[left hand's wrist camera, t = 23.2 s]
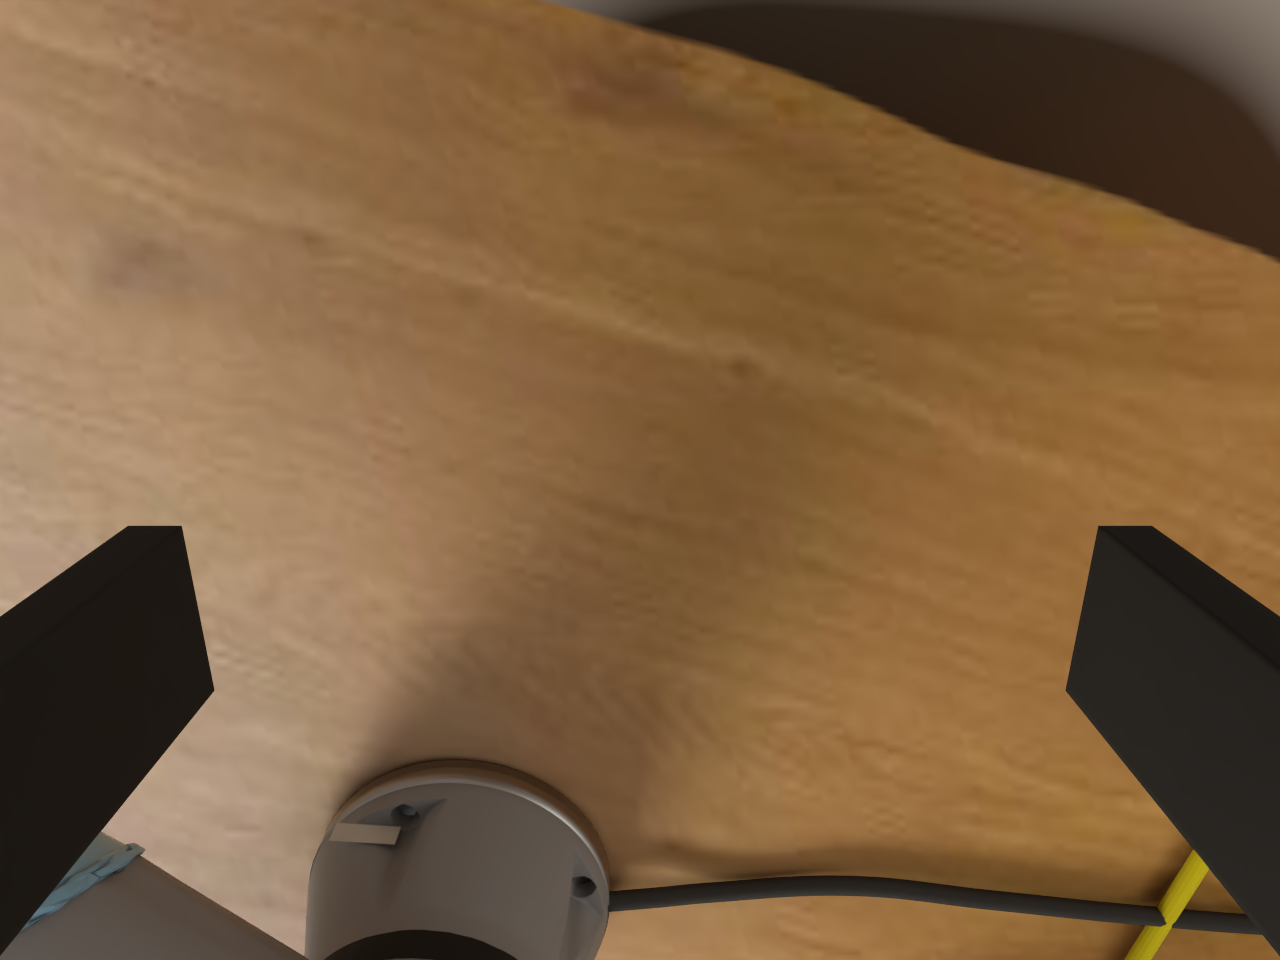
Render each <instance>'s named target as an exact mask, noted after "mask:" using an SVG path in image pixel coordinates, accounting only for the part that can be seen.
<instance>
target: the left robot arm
mask: <svg viewBox="0 0 1280 960" xmlns="http://www.w3.org/2000/svg"><path fill="white" fill-rule="evenodd" d="M213 692H214V686H213V681H212V676H211V671H210V666H209V661H208V656H207V651H206V646H205V641H204V636H203V631H202V626H201V621H200V616H199V611H198V606H197V601H196V596H195V591H194V586H193V581H192V576H191V571H190V566H189V561H188V556H187V551H186V546H185V541H184V536H183V531H182V526H127V527H126V528H124V529H123V530H122V531H120V532H119V533H117V534H116V535H115V536H113V537H112V538H110V539H109V540H108V541H106V542H105V543H103V544H102V545H101V546H99V547H98V548H96V549H95V550H93V551H92V552H91V553H89V554H88V555H86V556H85V557H84V558H82V559H81V560H79V561H78V562H77V563H75V564H74V565H72V566H71V567H70V568H68V569H67V570H65V571H64V572H62V573H61V574H60V575H58V576H57V577H55V578H54V579H53V580H51V581H50V582H48V583H47V584H46V585H44V586H43V587H41V588H40V589H39V590H37V591H36V592H34V593H33V594H31V595H30V596H29V597H27V598H26V599H24V600H23V601H22V602H20V603H19V604H17V605H16V606H15V607H13V608H12V609H10V610H9V611H8V612H6V613H5V614H3V615H2V616H0V960H594V959H595V957H596V955H597V952H598V950H599V948H600V945H601V943H602V939H603V937H604V934H605V931H606V927H607V923H608V917H609V912H612V911H624V910H636V909H648V908H659V907H669V906H679V905H689V904H699V903H712V902H725V901H738V900H750V899H763V898H777V897H794V896H869V897H884V898H896V899H906V900H915V901H923V902H931V903H939V904H946V905H954V906H962V907H970V908H978V909H988V910H997V911H1007V912H1017V913H1026V914H1036V915H1045V916H1054V917H1064V918H1073V919H1083V920H1093V921H1103V922H1114V923H1124V924H1135V925H1146V926H1157V927H1161V926H1164V925H1166V924H1167V923H1166V922H1165V918H1164V917H1163V916H1162V914H1161V912H1160V911H1159V909H1158V907H1150V906H1139V905H1129V904H1118V903H1107V902H1097V901H1087V900H1077V899H1068V898H1058V897H1049V896H1040V895H1030V894H1021V893H1012V892H1002V891H992V890H983V889H974V888H965V887H957V886H950V885H942V884H935V883H927V882H919V881H911V880H902V879H892V878H880V877H864V876H795V877H777V878H763V879H750V880H738V881H726V882H713V883H699V884H688V885H677V886H667V887H657V888H645V889H633V890H620V891H610V869H609V863H608V859H607V855H606V852H605V849H604V846H603V844H602V842H601V840H600V838H599V836H598V834H597V832H596V831H595V829H594V827H593V826H592V824H591V823H590V822H589V820H588V819H587V818H586V817H585V815H584V814H583V813H582V812H581V811H580V810H579V809H578V808H577V807H576V806H575V805H574V804H573V803H572V802H571V801H570V800H569V799H567V798H566V797H565V796H564V795H562V794H561V793H560V792H558V791H557V790H555V789H554V788H552V787H551V786H549V785H547V784H546V783H544V782H542V781H540V780H538V779H536V778H534V777H532V776H530V775H528V774H525V773H522V772H520V771H517V770H514V769H511V768H508V767H504V766H500V765H496V764H491V763H486V762H478V761H469V760H442V761H432V762H425V763H420V764H415V765H411V766H407V767H404V768H401V769H398V770H395V771H393V772H390V773H388V774H386V775H383V776H381V777H379V778H378V779H376V780H374V781H372V782H370V783H369V784H367V785H366V786H364V787H363V788H361V789H360V790H359V791H358V792H357V793H355V794H354V795H353V796H352V797H351V798H350V799H349V800H348V801H347V802H346V803H345V804H344V805H343V806H342V807H341V809H340V810H339V811H338V813H337V814H336V815H335V817H334V818H333V820H332V822H331V824H330V825H329V827H328V829H327V832H326V834H325V836H324V838H323V840H322V842H321V844H320V847H319V849H318V851H317V853H316V856H315V858H314V861H313V864H312V868H311V872H310V879H309V886H308V897H307V918H306V938H305V957H304V956H303V955H301V954H299V953H298V952H296V951H294V950H293V949H291V948H289V947H288V946H286V945H285V944H283V943H281V942H280V941H278V940H276V939H275V938H273V937H271V936H270V935H268V934H267V933H265V932H263V931H262V930H260V929H258V928H257V927H255V926H253V925H252V924H250V923H248V922H247V921H245V920H244V919H242V918H240V917H239V916H237V915H235V914H234V913H232V912H230V911H229V910H227V909H225V908H224V907H222V906H221V905H219V904H217V903H216V902H214V901H212V900H211V899H209V898H207V897H206V896H204V895H203V894H201V893H199V892H198V891H196V890H194V889H193V888H191V887H189V886H188V885H186V884H184V883H183V882H181V881H180V880H178V879H176V878H175V877H173V876H172V875H170V874H168V873H167V872H165V871H164V870H162V869H161V868H159V867H157V866H156V865H154V864H153V863H151V862H150V861H148V860H146V859H145V858H143V857H142V856H140V855H141V854H142V853H143V852H144V851H145V849H144V848H142V847H141V846H139V845H138V844H135V843H131V844H126V845H125V844H123V843H121V842H119V841H117V840H116V839H114V838H112V837H110V836H108V835H106V834H104V833H103V832H101V830H102V829H103V828H104V827H105V826H106V824H107V823H108V822H109V821H110V819H111V818H112V817H113V816H114V814H115V813H116V812H117V811H118V809H119V808H120V807H121V806H122V804H123V803H124V802H125V801H126V799H127V798H128V797H129V796H130V794H131V793H132V792H133V791H134V790H135V788H136V787H137V786H138V785H139V783H140V782H141V781H142V780H143V778H144V777H145V776H146V775H147V773H148V772H149V771H150V770H151V768H152V767H153V766H154V765H155V763H156V762H157V761H158V760H159V759H160V757H161V756H162V755H163V754H164V752H165V751H166V750H167V749H168V747H169V746H170V745H171V744H172V742H173V741H174V740H175V739H176V737H177V736H178V735H179V734H180V732H181V731H182V730H183V729H184V728H185V726H186V725H187V724H188V723H189V721H190V720H191V719H192V718H193V716H194V715H195V714H196V713H197V711H198V710H199V709H200V708H201V706H202V705H203V704H204V703H205V701H206V700H207V699H208V698H209V697H210V695H211V694H212V693H213ZM1066 692H1067V693H1068V694H1069V695H1070V697H1071V698H1072V699H1073V700H1074V701H1075V703H1076V704H1077V705H1078V706H1079V708H1080V709H1081V710H1082V711H1083V713H1084V714H1085V715H1086V716H1087V718H1088V719H1089V720H1090V721H1091V723H1092V724H1093V725H1094V726H1095V728H1096V729H1097V730H1098V731H1099V732H1100V734H1101V735H1102V736H1103V737H1104V739H1105V740H1106V741H1107V742H1108V744H1109V745H1110V746H1111V747H1112V749H1113V750H1114V751H1115V752H1116V754H1117V755H1118V756H1119V757H1120V759H1121V760H1122V761H1123V762H1124V763H1125V765H1126V766H1127V767H1128V768H1129V770H1130V771H1131V772H1132V773H1133V775H1134V776H1135V777H1136V778H1137V780H1138V781H1139V782H1140V783H1141V785H1142V786H1143V787H1144V788H1145V790H1146V791H1147V792H1148V793H1149V794H1150V796H1151V797H1152V798H1153V799H1154V801H1155V802H1156V803H1157V804H1158V806H1159V807H1160V808H1161V809H1162V811H1163V812H1164V813H1165V814H1166V816H1167V817H1168V818H1169V819H1170V821H1171V822H1172V823H1173V824H1174V826H1175V827H1176V828H1177V829H1178V830H1179V832H1180V833H1181V834H1182V835H1183V837H1184V838H1185V839H1186V840H1187V842H1188V843H1189V844H1190V845H1191V847H1192V848H1193V849H1194V850H1195V852H1196V853H1197V854H1198V855H1199V857H1200V858H1201V859H1202V860H1203V861H1204V863H1205V864H1206V865H1207V866H1208V868H1209V869H1210V870H1211V871H1212V873H1213V874H1214V875H1215V876H1216V878H1217V879H1218V880H1219V881H1220V883H1221V884H1222V885H1223V886H1224V888H1225V889H1226V890H1227V891H1228V892H1229V894H1230V895H1231V896H1232V897H1233V899H1234V900H1235V901H1236V902H1237V904H1238V905H1239V906H1240V907H1241V909H1242V910H1243V911H1244V912H1245V914H1235V913H1221V912H1208V911H1195V910H1184V909H1183V911H1182V912H1181V914H1180V916H1179V917H1178V919H1177V920H1176V922H1174V923H1173V924H1172V928H1179V929H1191V930H1203V931H1215V932H1228V933H1243V934H1258V935H1263V936H1264V937H1265V938H1266V940H1267V941H1268V942H1269V943H1270V945H1271V946H1272V947H1273V948H1274V950H1275V951H1276V952H1277V953H1278V954H1279V956H1280V616H1278V615H1277V614H1275V613H1274V612H1272V611H1271V610H1270V609H1268V608H1267V607H1265V606H1264V605H1263V604H1261V603H1260V602H1258V601H1257V600H1256V599H1254V598H1253V597H1251V596H1250V595H1249V594H1247V593H1246V592H1244V591H1243V590H1241V589H1240V588H1239V587H1237V586H1236V585H1234V584H1233V583H1232V582H1230V581H1229V580H1227V579H1226V578H1225V577H1223V576H1222V575H1220V574H1219V573H1218V572H1216V571H1215V570H1213V569H1212V568H1210V567H1209V566H1208V565H1206V564H1205V563H1203V562H1202V561H1201V560H1199V559H1198V558H1196V557H1195V556H1194V555H1192V554H1191V553H1189V552H1188V551H1187V550H1185V549H1184V548H1182V547H1181V546H1179V545H1178V544H1177V543H1175V542H1174V541H1172V540H1171V539H1170V538H1168V537H1167V536H1165V535H1164V534H1163V533H1161V532H1160V531H1158V530H1157V529H1156V528H1154V527H1153V526H1098V531H1097V536H1096V541H1095V546H1094V551H1093V556H1092V561H1091V566H1090V571H1089V576H1088V581H1087V586H1086V591H1085V596H1084V601H1083V606H1082V611H1081V616H1080V621H1079V626H1078V631H1077V636H1076V641H1075V646H1074V651H1073V656H1072V661H1071V666H1070V671H1069V676H1068V681H1067V686H1066Z"/></svg>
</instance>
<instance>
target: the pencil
mask: <svg viewBox="0 0 1280 960" xmlns="http://www.w3.org/2000/svg"><path fill="white" fill-rule="evenodd" d="M1208 870H1209V868H1208V866H1207V865H1206V864H1205V863H1204V861H1203V860H1202V859H1201V858H1200V857H1199V855H1198V854H1197V853H1196V852H1195V850H1194V849H1193V850H1192V852H1191V853H1190V855H1189V857H1188V858H1187V860H1186V861H1185V863H1184V865H1183V866H1182V868H1181V869H1180V871H1179V873H1178V874H1177V876H1176V877H1175V879H1174V880H1173V882H1172V884H1171V885H1170V887H1169V888H1168V890H1167V892H1166V893H1165V895H1164V896H1163V898H1162V900H1161V901H1160V903H1159V904H1158V906H1157V907H1158V909H1159V911H1160V912H1161V914H1162V916H1163V917H1164V918H1165V922H1166V923H1167V924H1166V925H1164V926H1161V927H1157V926H1146V925H1145V927H1144V928H1143V930H1142V932H1141V933H1140V935H1139V936H1138V938H1137V940H1136V941H1135V943H1134V944H1133V946H1132V948H1131V949H1130V951H1129V952H1128V954H1127V956H1126V957H1125V959H1124V960H1151V959H1152V958H1153V956H1154V954H1155V953H1156V951H1157V950H1158V948H1159V947H1160V945H1161V944H1162V942H1163V940H1164V939H1165V937H1166V936H1167V934H1168V933H1169V931H1170V930H1171V928H1172V924H1173V923H1174V922H1176V920H1177V919H1178V917H1179V916H1180V914H1181V912H1182V911H1183V909H1184V908H1185V906H1186V905H1187V903H1188V901H1189V900H1190V898H1191V897H1192V895H1193V894H1194V892H1195V891H1196V889H1197V887H1198V886H1199V884H1200V883H1201V881H1202V880H1203V878H1204V877H1205V875H1206V873H1207V872H1208Z"/></svg>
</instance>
